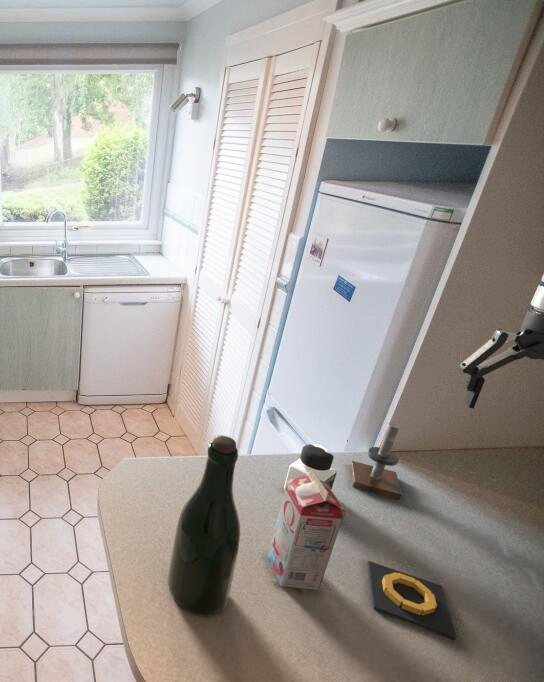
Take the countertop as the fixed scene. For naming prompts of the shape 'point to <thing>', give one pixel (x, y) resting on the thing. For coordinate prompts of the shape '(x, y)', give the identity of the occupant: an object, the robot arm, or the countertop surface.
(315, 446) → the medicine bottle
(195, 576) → the green wine bottle
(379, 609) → the rubber mat
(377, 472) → the peg stand
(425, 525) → the countertop surface
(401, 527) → the countertop surface
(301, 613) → the countertop surface
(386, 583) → the brass ring
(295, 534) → the juice carton
